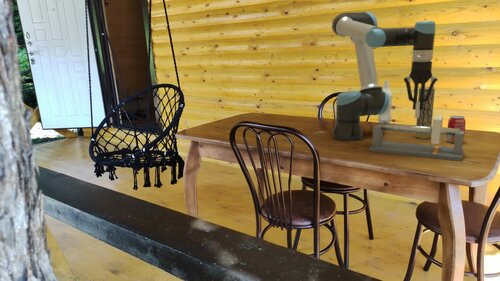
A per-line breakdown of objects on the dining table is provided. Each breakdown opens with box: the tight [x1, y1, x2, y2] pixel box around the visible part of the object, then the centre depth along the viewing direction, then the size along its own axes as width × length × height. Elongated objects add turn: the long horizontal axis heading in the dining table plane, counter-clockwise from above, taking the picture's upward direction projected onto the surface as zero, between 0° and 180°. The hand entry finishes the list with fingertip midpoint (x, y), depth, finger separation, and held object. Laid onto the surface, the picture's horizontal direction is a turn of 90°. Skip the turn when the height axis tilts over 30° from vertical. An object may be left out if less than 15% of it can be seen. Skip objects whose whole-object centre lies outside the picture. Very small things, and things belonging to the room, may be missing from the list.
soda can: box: [446, 115, 466, 144], centre depth 168 cm, size 7×7×12 cm
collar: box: [430, 115, 444, 145], centre depth 151 cm, size 3×9×10 cm, turn 149°
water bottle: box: [377, 80, 393, 124], centre depth 211 cm, size 7×7×25 cm
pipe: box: [377, 122, 460, 136], centre depth 155 cm, size 32×3×3 cm, turn 59°
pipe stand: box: [368, 124, 465, 162], centre depth 156 cm, size 36×14×10 cm, turn 59°
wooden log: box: [415, 86, 436, 140], centre depth 176 cm, size 7×7×25 cm
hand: (417, 117), depth 154 cm, fingers closed
